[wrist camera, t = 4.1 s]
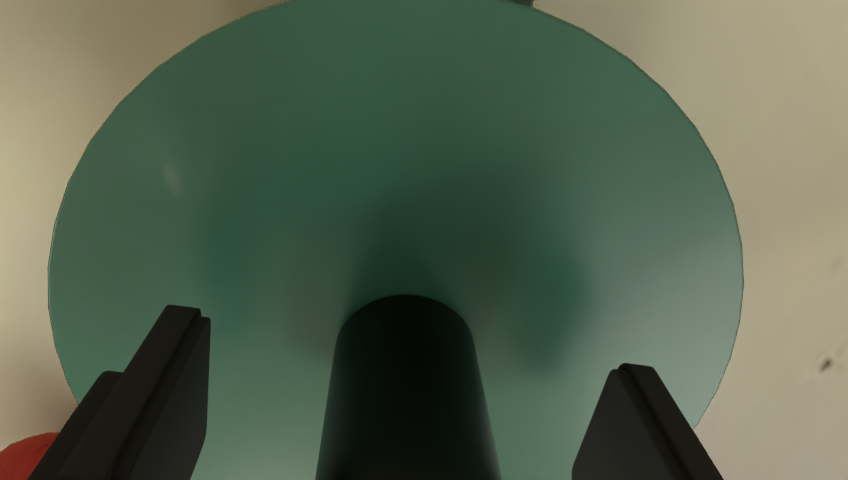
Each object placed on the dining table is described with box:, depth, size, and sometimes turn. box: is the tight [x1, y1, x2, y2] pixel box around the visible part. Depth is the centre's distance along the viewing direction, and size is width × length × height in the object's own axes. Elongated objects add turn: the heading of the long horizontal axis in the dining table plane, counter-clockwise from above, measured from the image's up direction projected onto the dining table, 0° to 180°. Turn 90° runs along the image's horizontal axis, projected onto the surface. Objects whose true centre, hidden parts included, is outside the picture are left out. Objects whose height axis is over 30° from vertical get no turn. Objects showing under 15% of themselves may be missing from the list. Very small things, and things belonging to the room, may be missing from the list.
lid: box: [48, 0, 744, 480], centre depth 11 cm, size 15×15×7 cm
